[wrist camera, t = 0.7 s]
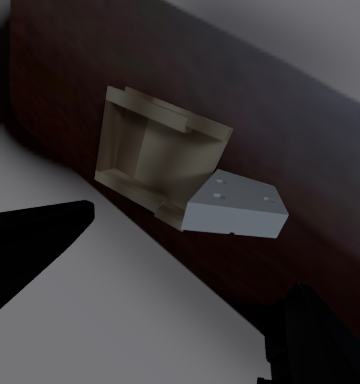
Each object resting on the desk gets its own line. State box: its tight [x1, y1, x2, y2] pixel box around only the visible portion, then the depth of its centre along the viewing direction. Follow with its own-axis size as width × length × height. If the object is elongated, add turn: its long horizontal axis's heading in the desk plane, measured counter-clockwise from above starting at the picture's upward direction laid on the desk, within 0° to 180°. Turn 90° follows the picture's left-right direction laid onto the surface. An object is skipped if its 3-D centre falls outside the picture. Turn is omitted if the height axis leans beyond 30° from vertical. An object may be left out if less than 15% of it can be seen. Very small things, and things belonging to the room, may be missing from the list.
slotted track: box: [95, 86, 233, 232], centre depth 18 cm, size 12×11×4 cm
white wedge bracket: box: [181, 169, 289, 238], centre depth 15 cm, size 4×10×9 cm, turn 77°
